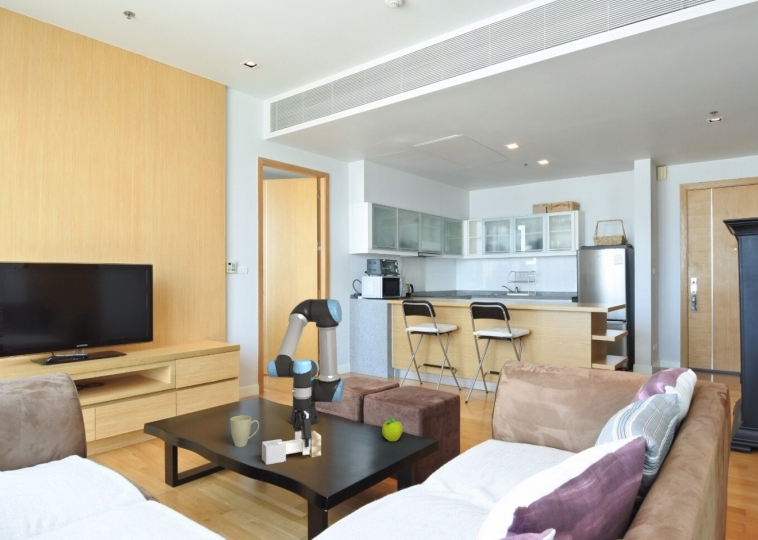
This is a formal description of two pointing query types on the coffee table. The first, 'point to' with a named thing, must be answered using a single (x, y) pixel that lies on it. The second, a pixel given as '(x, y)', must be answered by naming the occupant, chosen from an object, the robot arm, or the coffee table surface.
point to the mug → (241, 429)
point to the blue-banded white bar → (294, 445)
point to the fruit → (392, 429)
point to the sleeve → (273, 451)
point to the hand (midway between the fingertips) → (301, 450)
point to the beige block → (315, 444)
